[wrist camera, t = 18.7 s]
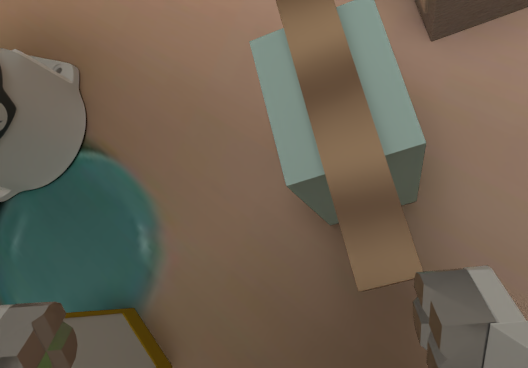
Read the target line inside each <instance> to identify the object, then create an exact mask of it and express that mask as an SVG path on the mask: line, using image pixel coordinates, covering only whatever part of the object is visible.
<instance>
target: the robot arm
mask: <svg viewBox="0 0 528 368" xmlns="http://www.w3.org/2000/svg"><path fill="white" fill-rule="evenodd" d="M85 127H86V113H85V107H84V103H83V100H82V98H81V95H80V92H79V70H78V68H77V67H76V66H74V65H72V64H70V63H66V62H61V61H56V60H50V59H45V58H40V57H35V56H30V55H26V54H25V53H23V52H21V51H19V50H17V49H13V50H12V51H11V50H8V49H3V48H0V202H3V201H6V200H8V199H10V198H11V197H13V196H14V195H16V194H17V193H19V192H22V191H25V190H32V189H36V188H40V187H42V186H45V185H47V184H49V183H50V182H52V181H53V180H55V179H56V178H57V177H59V176H60V175H61V174H62V173H63V172H64V171H65V170H66V169H67V168H68V166H69V165H70V164H71V162H72V161H73V160H74V158H75V156H76V154H77V153H78V151H79V148H80V146H81V143H82V140H83V137H84V133H85ZM414 288H415V291H416V293H417V296H418V297H417V298H416V299H415V300H414V302H413V317H414V325H415V330H416V333H417V337H418V340H419V343H420V345H421V346H422V347H423V348H425V349H426V350H427V362H426V363H427V365H428V368H528V321H527V320H526V319H525V317H524V316H523V314H522V313H521V311H520V310H519V308H518V307H517V305H516V304H515V302H514V301H513V299H512V298H511V296H510V295H509V293H508V292H507V290H506V289H505V287H504V286H503V284H502V283H501V281H500V280H499V278H498V277H497V275H496V274H495V272H494V271H493V269H492V268H491V267H489V266H487V265H486V266H476V267H466V268H463V269H462V268H459V269H448V270H437V271H425V272H416V274H415V277H414ZM65 316H66V312H65V310H64V308H63V307H62V305H61V303H57V302H41V303H24V304H15V305H0V368H71V367H72V365H73V363H74V361H75V358H76V353H77V346H78V344H77V337H76V334H75V332H74V329H73V327H71V326H70V325H68V324H67V323H65V322H64V318H65Z"/></svg>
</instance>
